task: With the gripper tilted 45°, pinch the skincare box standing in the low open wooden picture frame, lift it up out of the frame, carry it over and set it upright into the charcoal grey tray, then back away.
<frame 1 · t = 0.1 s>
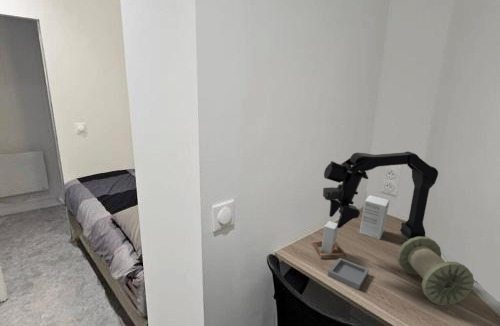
hand: (334, 221, 107), 15 cm above the table, tool pointing down, fingers open, 9 cm apart
supplement box: (371, 232, 132), on the table
cradle tray: (348, 275, 100), on the table
open wooden picture frame: (328, 250, 115), on the table
spool: (427, 287, 96), on the table
skincare box: (327, 251, 115), resting in open wooden picture frame
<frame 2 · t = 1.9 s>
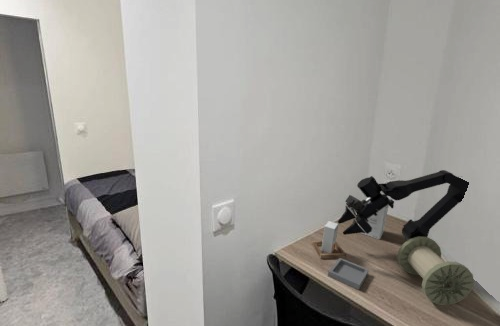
hand: (340, 228, 112), 11 cm above the table, tool tilted 45°, fingers open, 9 cm apart
nothing on the table moved.
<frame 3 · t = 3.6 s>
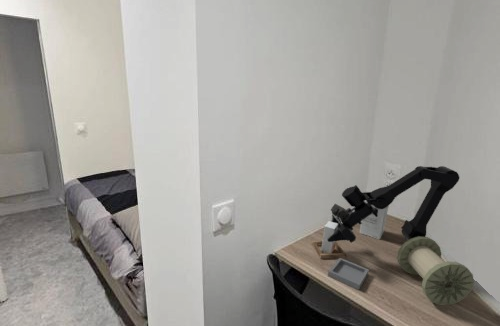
hand: (326, 236, 113), 7 cm above the table, tool tilted 45°, fingers closed on skincare box, 7 cm apart
skincare box: (327, 251, 115), resting in open wooden picture frame, touching gripper
everything else where it was.
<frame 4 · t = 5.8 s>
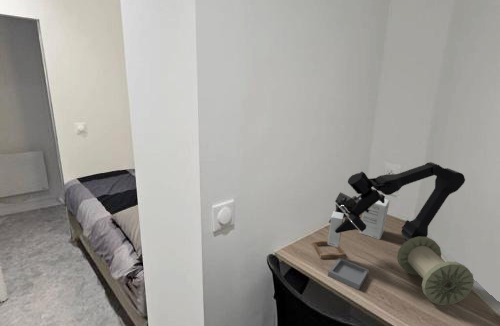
hand: (332, 227, 107), 13 cm above the table, tool tilted 45°, fingers closed on skincare box, 7 cm apart
skincare box: (333, 242, 109), point 6 cm above the table, touching gripper
everything else where it was.
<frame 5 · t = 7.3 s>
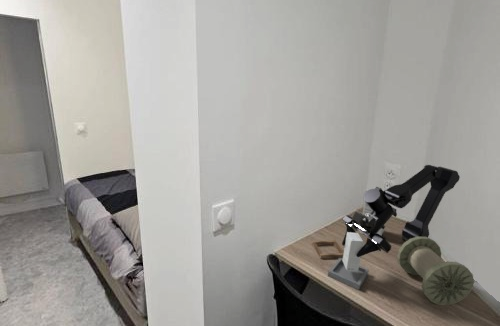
hand: (349, 250, 97), 10 cm above the table, tool tilted 45°, fingers closed on skincare box, 7 cm apart
skincare box: (349, 266, 99), point 4 cm above the table, touching gripper
everything else where it was.
when the fingers open (8 cm above the table, at t = 8.3 s): skincare box stays where it is, resting on cradle tray.
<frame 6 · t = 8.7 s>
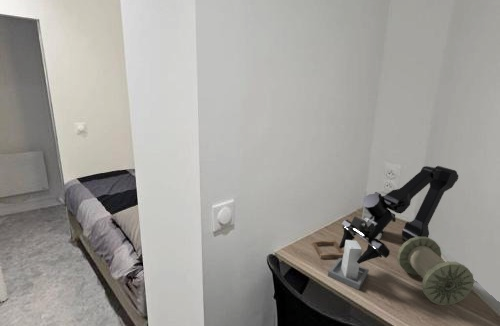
hand: (348, 255, 97), 9 cm above the table, tool tilted 45°, fingers open, 9 cm apart
skincare box: (348, 273, 100), resting on cradle tray
everything else where it was.
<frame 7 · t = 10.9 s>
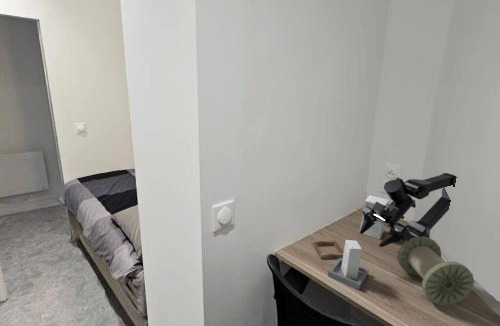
hand: (369, 239, 99), 13 cm above the table, tool tilted 45°, fingers open, 9 cm apart
nothing on the table moved.
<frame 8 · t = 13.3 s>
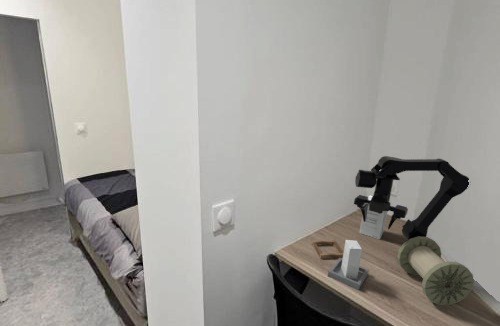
hand: (376, 225, 111), 13 cm above the table, tool pointing down, fingers open, 9 cm apart
nothing on the table moved.
at the end: skincare box 0.2 cm off-centre on the cradle tray, point 0.4 cm above the cradle tray's base; skincare box tilted 0°; the gripper is holding nothing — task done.
